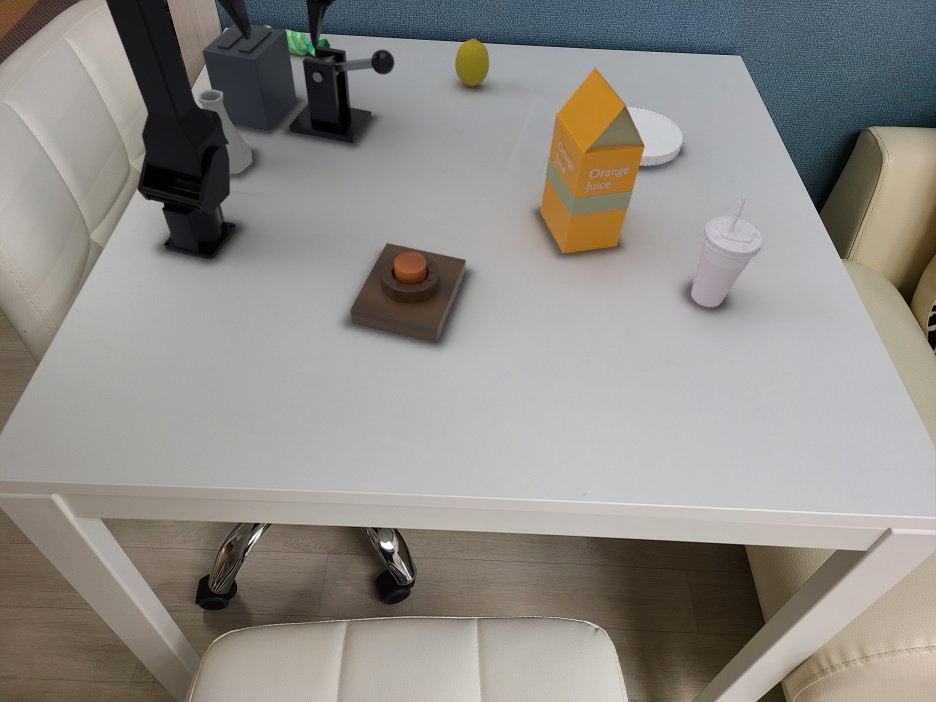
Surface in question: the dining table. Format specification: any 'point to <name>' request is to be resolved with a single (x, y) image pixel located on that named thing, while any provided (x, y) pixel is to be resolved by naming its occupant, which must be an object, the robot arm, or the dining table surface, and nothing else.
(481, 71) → the lemon
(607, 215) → the orange juice
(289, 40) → the candy
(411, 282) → the button
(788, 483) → the dining table surface
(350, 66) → the black lever
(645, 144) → the plastic lid
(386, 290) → the control block
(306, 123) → the lever bracket
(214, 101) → the flask
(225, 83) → the toaster
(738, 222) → the smoothie
